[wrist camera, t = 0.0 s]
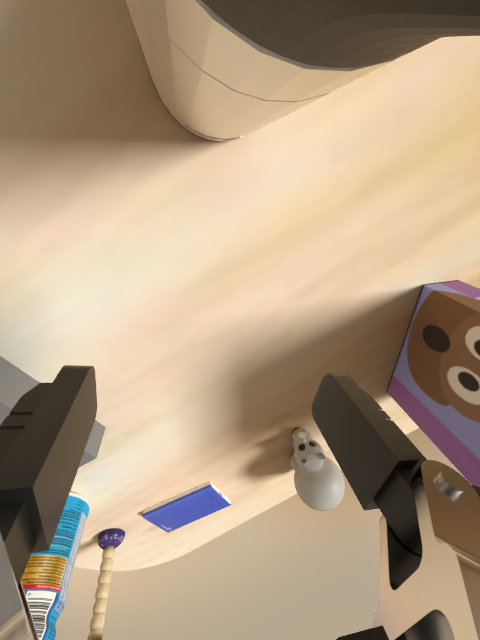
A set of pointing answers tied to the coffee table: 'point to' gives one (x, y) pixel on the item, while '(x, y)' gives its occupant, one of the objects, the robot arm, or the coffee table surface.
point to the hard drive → (187, 507)
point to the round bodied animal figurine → (315, 474)
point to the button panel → (11, 383)
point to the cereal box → (444, 372)
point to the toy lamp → (104, 579)
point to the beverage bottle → (55, 568)
